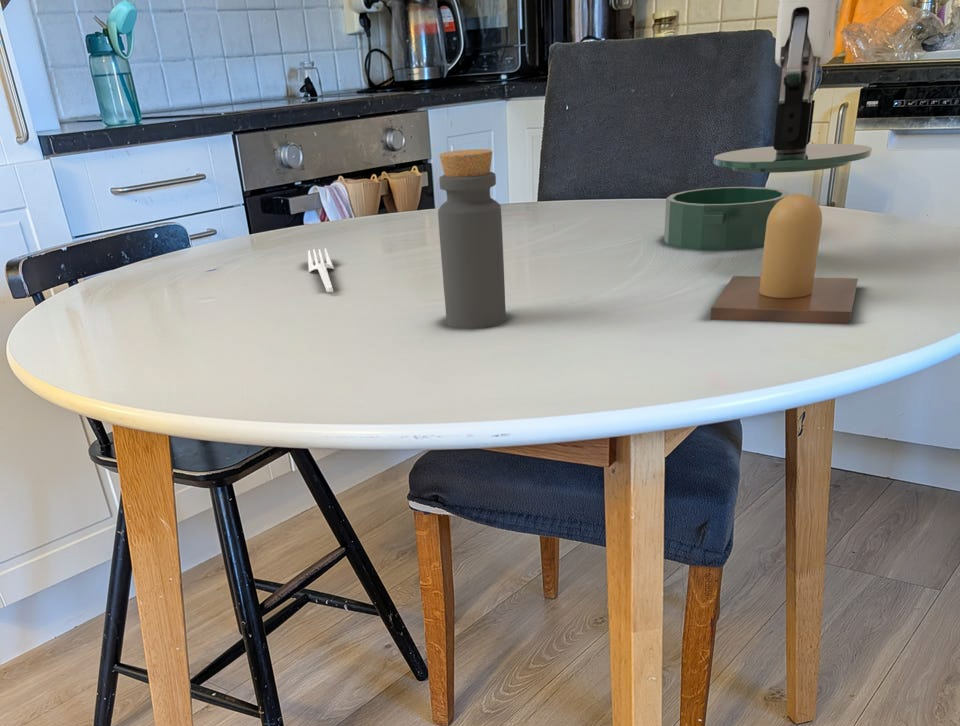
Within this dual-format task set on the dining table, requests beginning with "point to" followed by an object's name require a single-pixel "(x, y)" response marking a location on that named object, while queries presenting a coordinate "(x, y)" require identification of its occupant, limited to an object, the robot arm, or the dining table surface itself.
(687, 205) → the pot
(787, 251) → the tan domed cylinder
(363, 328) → the dining table surface
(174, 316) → the dining table surface
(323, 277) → the fork
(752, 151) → the lid
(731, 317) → the board
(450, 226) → the bottle
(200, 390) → the dining table surface
